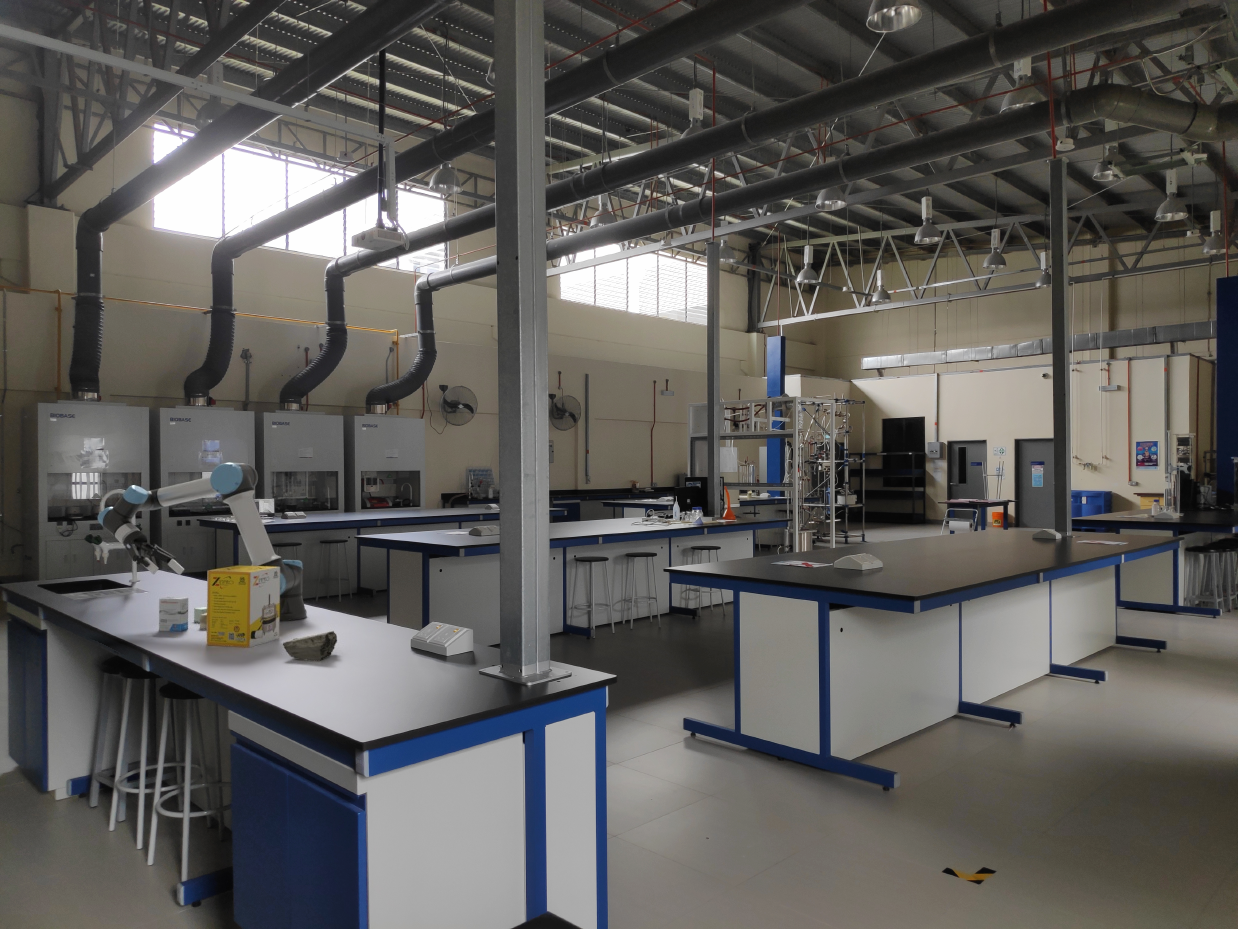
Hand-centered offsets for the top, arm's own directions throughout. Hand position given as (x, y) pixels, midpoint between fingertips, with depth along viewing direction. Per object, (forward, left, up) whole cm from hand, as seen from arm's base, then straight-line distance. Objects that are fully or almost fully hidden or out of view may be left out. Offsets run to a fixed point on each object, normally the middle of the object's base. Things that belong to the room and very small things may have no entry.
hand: (169, 571), depth 301 cm
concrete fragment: (-83, +14, -21) cm, 87 cm away
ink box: (-6, +3, -21) cm, 22 cm away
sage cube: (0, -15, -21) cm, 26 cm away
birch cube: (-14, -7, -21) cm, 26 cm away
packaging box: (-45, +7, -21) cm, 50 cm away
